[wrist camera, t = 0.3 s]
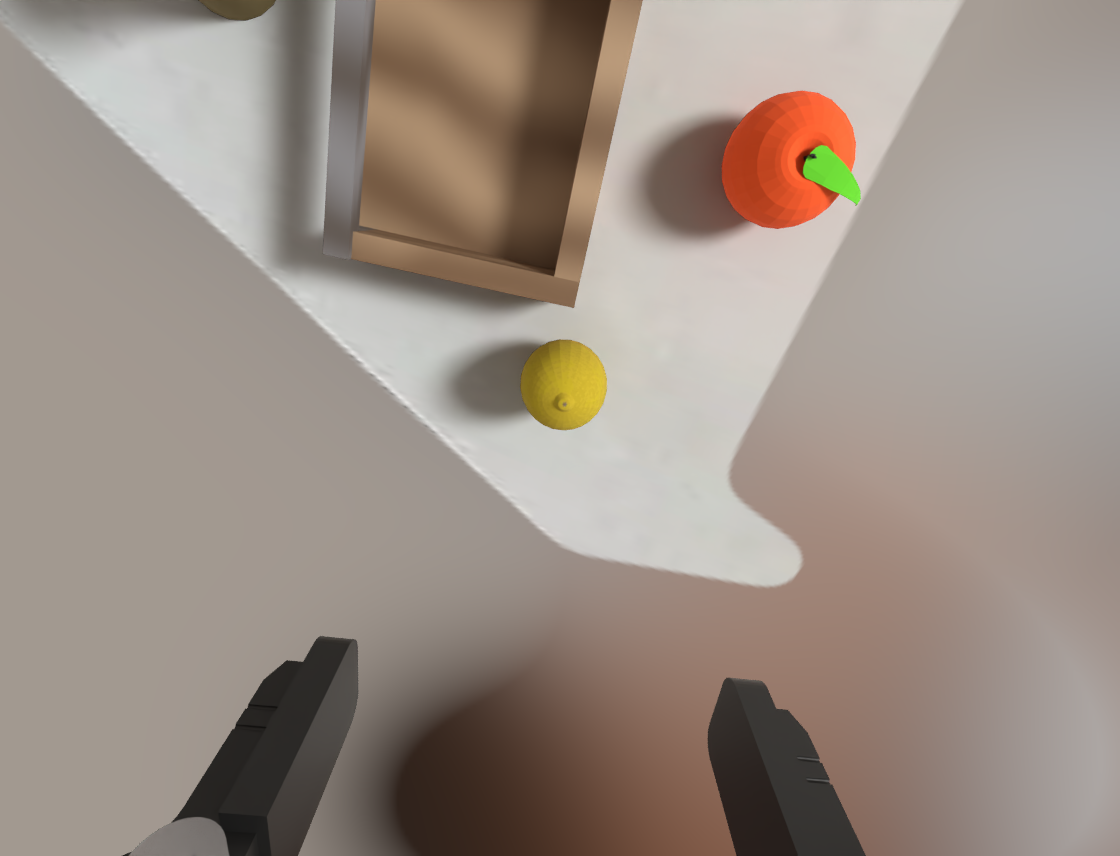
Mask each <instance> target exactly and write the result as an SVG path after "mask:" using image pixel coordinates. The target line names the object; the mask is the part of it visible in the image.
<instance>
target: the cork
mask: <svg viewBox="0 0 1120 856" xmlns="http://www.w3.org/2000/svg"><path fill="white" fill-rule="evenodd" d="M199 1H200V2H201V3H202V4H204V5H205V6H206V7H207V8H208V9H209V10H211V11H212V12H214V13H216V14H218V15H221V16H223V17H225V18H227V19H234V20H249V19H252V18H255V17H258V16H261V15H262V14H263V13H265V12H266V11H267V10H268V9H269V8H270V7H271V6H273V5H274V3H275V1H276V0H199Z"/></svg>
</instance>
